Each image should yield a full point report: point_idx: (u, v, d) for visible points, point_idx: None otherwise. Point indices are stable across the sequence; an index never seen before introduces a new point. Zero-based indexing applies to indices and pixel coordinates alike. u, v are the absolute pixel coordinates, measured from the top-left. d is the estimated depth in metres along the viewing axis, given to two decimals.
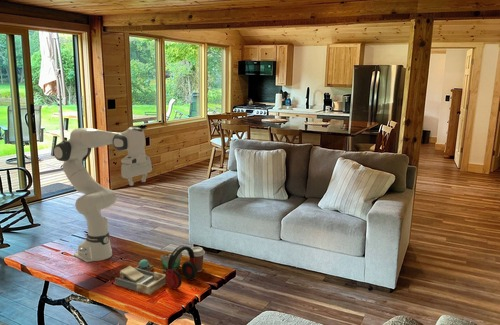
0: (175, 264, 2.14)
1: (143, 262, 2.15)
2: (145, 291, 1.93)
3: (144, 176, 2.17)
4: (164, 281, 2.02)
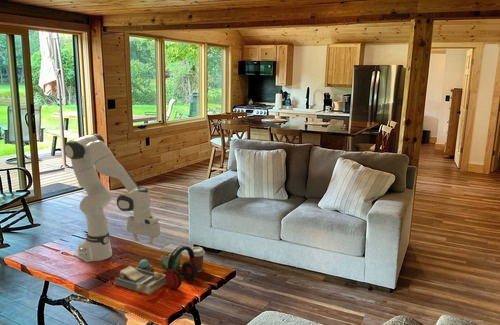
0: (175, 264, 2.14)
1: (143, 262, 2.15)
2: (145, 291, 1.93)
3: (135, 235, 2.17)
4: (164, 281, 2.02)
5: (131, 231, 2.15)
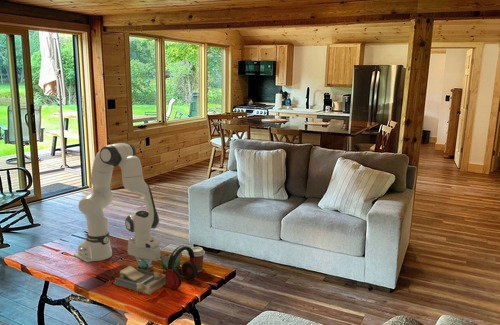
0: (175, 264, 2.14)
1: (143, 262, 2.15)
2: (145, 291, 1.93)
3: (138, 258, 2.18)
4: (164, 281, 2.02)
5: (132, 254, 2.17)
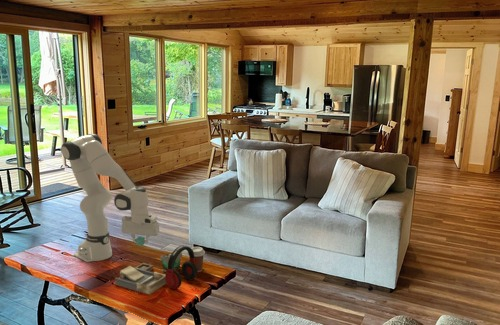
0: (175, 264, 2.14)
1: (141, 239, 2.11)
2: (145, 291, 1.93)
3: (133, 236, 2.13)
4: (164, 281, 2.02)
5: (127, 232, 2.11)
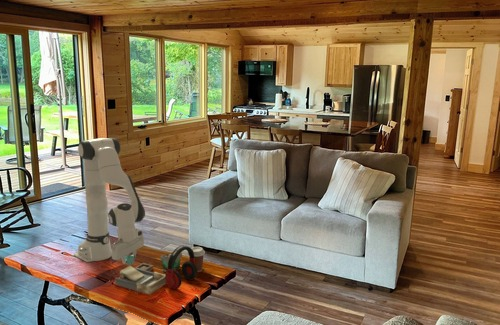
0: (175, 264, 2.14)
1: (132, 256, 2.04)
2: (145, 291, 1.93)
3: None
4: (164, 281, 2.02)
5: (121, 256, 1.96)
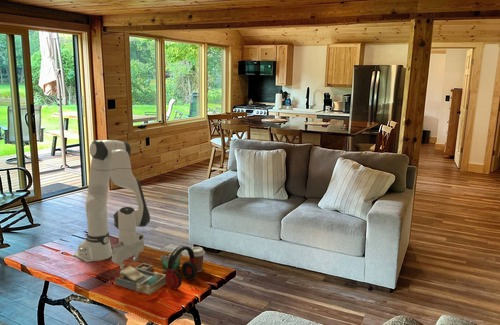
0: (175, 264, 2.14)
1: (157, 279, 1.99)
2: (145, 291, 1.93)
3: None
4: (164, 281, 2.02)
5: (122, 259, 1.97)
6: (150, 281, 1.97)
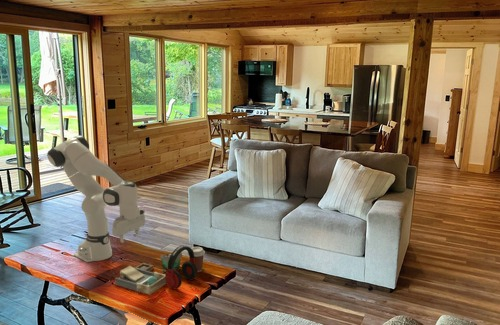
0: (175, 264, 2.14)
1: (156, 279, 1.99)
2: (145, 291, 1.93)
3: None
4: (164, 281, 2.02)
5: (122, 233, 1.96)
6: (149, 281, 1.97)
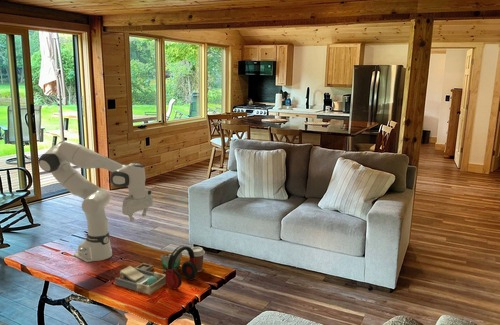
0: (175, 264, 2.14)
1: (155, 278, 1.99)
2: (145, 291, 1.93)
3: None
4: (164, 281, 2.02)
5: (131, 212, 2.06)
6: (148, 281, 1.97)
